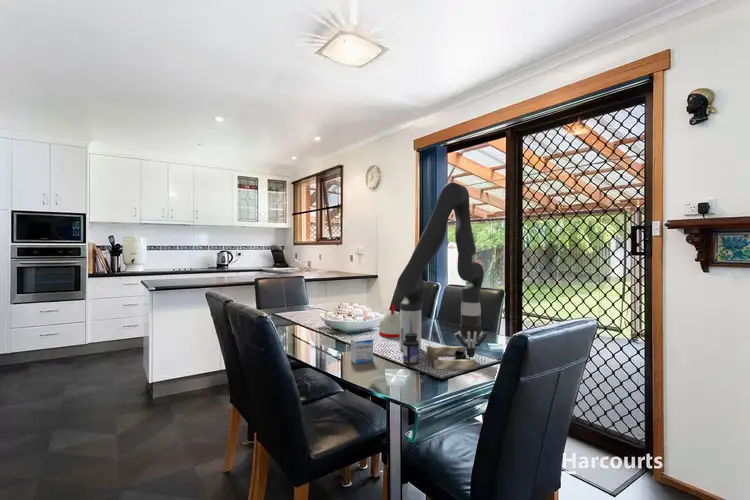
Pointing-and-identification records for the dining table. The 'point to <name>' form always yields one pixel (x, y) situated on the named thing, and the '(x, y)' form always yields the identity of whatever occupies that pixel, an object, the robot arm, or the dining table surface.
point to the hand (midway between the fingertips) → (470, 356)
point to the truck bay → (448, 364)
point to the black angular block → (461, 355)
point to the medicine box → (361, 350)
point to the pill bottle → (411, 349)
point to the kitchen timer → (390, 324)
